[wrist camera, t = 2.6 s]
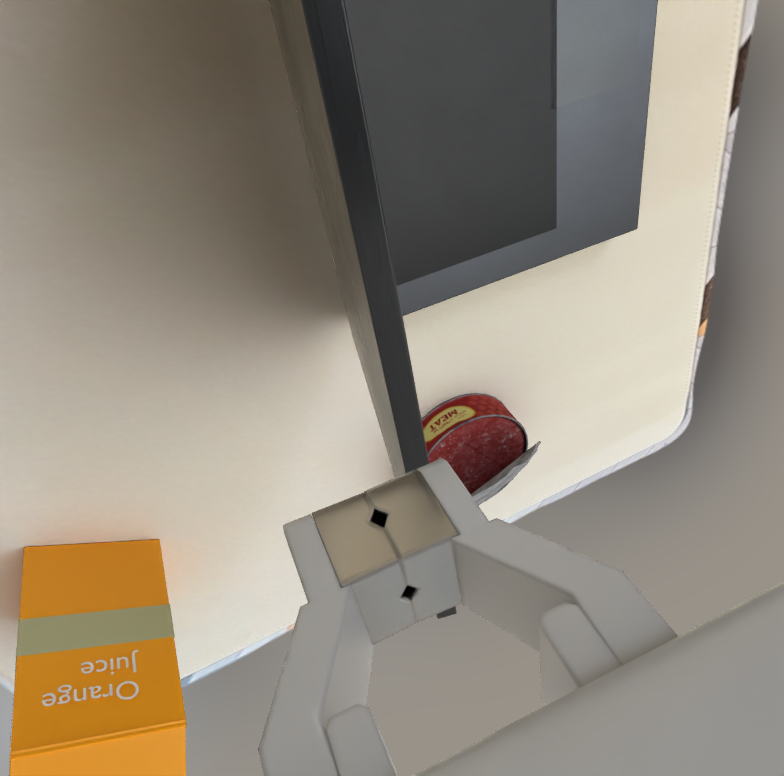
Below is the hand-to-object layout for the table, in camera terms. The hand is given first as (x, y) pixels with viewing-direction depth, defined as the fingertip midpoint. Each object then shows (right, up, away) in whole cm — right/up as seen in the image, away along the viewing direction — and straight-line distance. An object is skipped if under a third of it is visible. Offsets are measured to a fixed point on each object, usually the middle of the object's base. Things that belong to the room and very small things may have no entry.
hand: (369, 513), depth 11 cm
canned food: (+6, -2, +43) cm, 44 cm away
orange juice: (-22, -12, +36) cm, 44 cm away
